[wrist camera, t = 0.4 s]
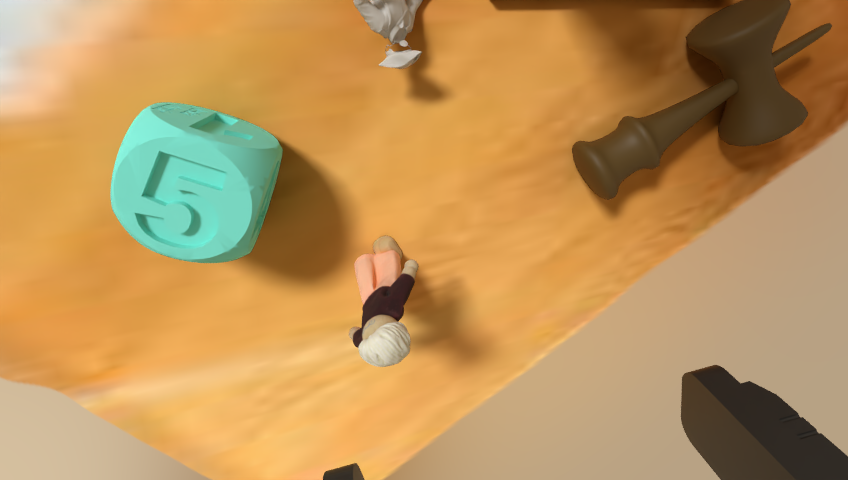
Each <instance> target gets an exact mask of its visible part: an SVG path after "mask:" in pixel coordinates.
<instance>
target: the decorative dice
mask: <svg viewBox="0 0 848 480" xmlns="http://www.w3.org/2000/svg"><path fill="white" fill-rule="evenodd" d="M282 152H283V149H282V147H281V146H280V144H279V142H278V140H277V139H276V138H275V137H274V136H273V135H272V134H270V133H269V132H267V131H265V130H264V129H262V128H260V127H258V126H256V125H254V124H251V123H249V122H247V121H244V120H242V119H239V118H236V117H234V116H231V115H228V114H224V113H221V112H218V111H214V110H210V109H206V108H202V107H198V106H193V105H187V104H180V103H156V104H153V105H151V106H149V107H147V108H145V109H144V110H143V111H142V112H141V113H140V114H139V115H138V116H137V117H136V118H135V120H134V121H133V123H132V124H131V126H130V128H129V129H128V131H127V133H126V135H125V137H124V139H123V142H122V144H121V147H120V149H119V152H118V155H117V158H116V162H115V166H114V170H113V175H112V182H111V204H112V209H113V211H114V213H115V215H116V217H117V218H118V220H119V222H120V223H121V225H122V226H123V227H124V228H125V229H126V231H127V232H128V233H129V234H130V235H131V236H132V237H133V238H134V239H135V240H137V241H138V242H139V243H140V244H141V245H143V246H145V247H146V248H148V249H150V250H152V251H154V252H156V253H159V254H161V255H164V256H167V257H171V258H174V259H179V260H184V261H189V262H198V263H221V262H228V261H232V260H236V259H238V258H241V257H243V256H245V255H247V254H249V253H250V252H251V251H252V249H253V247H254V245H255V243H256V241H257V238H258V236H259V233H260V230H261V228H262V225H263V222H264V219H265V216H266V213H267V210H268V207H269V204H270V201H271V198H272V194H273V191H274V187H275V184H276V180H277V176H278V172H279V168H280V164H281V159H282Z"/></svg>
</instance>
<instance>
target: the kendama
mask: <svg viewBox="0 0 848 480" xmlns="http://www.w3.org/2000/svg"><path fill="white" fill-rule="evenodd" d="M790 5H791V3H790V0H743V1H740V2H737V3H735V4H733V5H731V6H728V7H726V8H724V9H722V10H720V11H718V12H716V13H715V14H713V15H711V16H709V17H707V18H706V19H705V20H703V21H702V22H701V23H699V24H698V25H697V26H695V28H694V29H693V30H692V31H691V32H690V33H689V34H688V35H687V37H686V40H687V45H688V47H690V48H691V49H692V50H694V51H695V52H697V53H699V54H700V55H702V56H704V57H706V58H707V59H709V60H711V61H712V62H714V63H715V64H716V65H717V66H718V67H719V68H720V72H721V73H722V75H723V79H724V81H722V82H720V83H718V84H716V85H714V86H712V87H710V88H708V89H706V90H704V91H702V92H700V93H698V94H696V95H694V96H692V97H690V98H688V99H686V100H684V101H682V102H679V103H677V104H675V105H673V106H671V107H668V108H666V109H664V110H662V111H659V112H657V113H654V114H652V115H649V116H646V117H642V118H634V117H629V116H625V117H624V118H623V119H622V120H621V121H620V123H619V125H618V127H617V129H616V130H615V131H613V132H612V133H610V134H609V135H607V136H605V137H603V138H601V139H598V140H595V141H592V142H585V141H578V142H576V143H575V144H574V145H573V148H572V153H573V158H574V162H575V164H576V167H577V169H578V171H579V172H580V174H581V176H582V177H583V179H584V180H585V181H586V183H587V184H588V186H589V187H590V188H591V189H592V190H593V191H594V192H595V193H596V194H597V195H598V196H600V197H602V198H604V199H607V200H610V199H612V198H614V197H615V196H616V194H617V192H618V187H619V185H620V183H621V182H622V181H623V180H624V179H625V178H627V177H628V176H629V175H630V174H632V173H634V172H635V171H637V170H640V169H654V168H656V167H658V166H659V164H660V158H661V155H662V154H663V152H664V151H665V150H666V149H667V147H668V146H669V145H670V144H672V143H673V142H674V141H675V140H676V139H677V138H678V137H679V136H680V135H682V134H683V133H684V132H685V131H687V130H688V129H689V128H690V127H691V126H693V125H694V124H695V123H696V122H698V121H699V120H700V119H701V118H703V117H704V116H705V115H707V114H708V113H709V112H711V111H712V110H713V109H715V108H716V107H717V106H719V105H720V104H721V103H723V102H724V101H726V105H725V109H724V112H723V115H722V118H721V120H720V123H719V127H718V132H719V136H720V138H721V140H723V141H724V142H726V143H728V144H730V145H736V146H755V145H760V144H764V143H767V142H771V141H774V140H776V139H778V138H780V137H782V136H784V135H787V134H789V133H790V132H792V131H793V130H795V129H796V128H797V127H799V126H800V125H801V124H802V123H803V122H804V120H805V118H806V117H807V115H808V112H807V110H806V108H805V107H804V105H803V104H802V102H800V101H799V100H798V99H797V98H795V97H794V96H792V95H791V94H789V93H788V92H787V91H785V90H784V89H783V88H782V87H781V86H780V84H779V82H778V80H777V78H776V74H775V70H774V67H776V66H777V65H779V64H780V63H782V62H784V61H785V60H787V59H788V58H790V57H791V56H793V55H794V54H796V53H797V52H799V51H800V50H802V49H803V48H805V47H807V46H808V45H810V44H811V43H813V42H814V41H816V40H817V39H818V38H820V37H821V36H823V35H824V34H825V33H827V32H828V31H829V30H830V29H831V27H832V25H831V24H830V23H827V24H824V25H822V26H820V27H818V28H816V29H814V30H812V31H810V32H808V33H807V34H805V35H803V36H801V37H800V38H798V39H796V40H794V41H793V42H791V43H789V44H787V45H786V46H784V47H782V48H780V49H779V50H777V51H775V52H774V53H772V48H773V44H774V41H775V39H776V36H777V34H778V32H779V30H780V28H781V26H782V24H783V22H784V20H785V18H786V15H787V13H788V11H789V8H790Z"/></svg>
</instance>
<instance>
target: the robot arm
mask: <svg viewBox="0 0 848 480" xmlns="http://www.w3.org/2000/svg"><path fill="white" fill-rule="evenodd" d="M681 405H682V406H681V420H682V425H683V428H684V430H685V433H686V435H687V437H688V438H689V440H690V442H691V443H692V445H693V446H694V447H695V448H696V450H697V451H698V452H699V453H700V455H701V456H702V457H703V458H704V459H705V461H706V462H707V463H708V464H709V466H710V467H711V468H712V469H713V471H714V472H715V473H716V474H717V475H718V477H719V478H720V479H721V480H848V456H847V455H845V454H844V453H843V452H842V451H841V450H840V449H838V448H837V447H836V446H835V445H834V444H833V443H832V442H830V441H829V440H828V439H827V438H826V437H824V435H822V434H819V433H818V432H817V430H816V429H815V428H814V427H813V426H812V425H811V424H810V423H809V422H807V421H806V420H805V419H804V418H803V417H802V418H800V417H799V415H798V413H797V412H796V411H795V410H793V409H792V408H791V407H790V406H789V405H788V404H787V403H785V402H784V401H783V400H782V399H781V398H780V397H778V396H777V395H776V394H774V393H772V392H770V391H768V390H766V389H764V388H762V387H760V386H758V385H756V384H754V383H752V382H750V381H748V382H745V383H741V384H740V383H739V382H738V381H737V380H736V379H735V378H734V377H733V376H732V375H730V374H729V373H728V372H727V371H726V370H725V369H724V368H722V367H720V366H718V365H713V366H710V367H706V368H702V369H699V370H695V371H691V372H688V373H685V374H684V375H683V377H682V402H681ZM323 480H364V478H363V475H362V473H361V471H360V468H359V466H358V465H357V464H356V463H354V464H351V465H347V466H343V467H340V468H336V469H333V470H329V471H326V472H325V473H324V476H323Z"/></svg>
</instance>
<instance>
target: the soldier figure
mask: <svg viewBox="0 0 848 480" xmlns="http://www.w3.org/2000/svg"><path fill="white" fill-rule="evenodd" d="M422 1H423V0H406V2H405V0H370V1H369V0H354V5H355V7H356V8H357V9H358V11H359V12H360V13H361V15H362V16H363V17H364V19H365V21H366V22H367V23H368V25H369V26H370V28H371V30H373V31H374V32H376V33H379V34H381V35H382V36H383V37H384V38H385V39H386V38H388V39H389V40H390V41H391V43H392V45H393V44H395V43H400V45H401V46H404V47H406V46H407V45H408V43H407V41H405V40H404V39H405V37H406V35H407V34H408V33H409V32H411V31H412V28H413V24H414V19H415V13H416V10H417V9H418V7H419V6H420V4H421V2H422ZM389 46H390V45H389ZM408 46H409V45H408ZM386 48H387V46H386ZM421 53H422V52H421V51H416V50H412V51H411V49H410V50H406V51H396V52H393V51H392V49H389V51H388V52H387V51H386V55H387V57H386V59H385V60H384V61H383V62H381V63H380V64H379V66H385V67H391V68H398V69H404V68H407V67H408V66H410V65H412V64H414V63H415V62H416V61H417V60H418V59H419V57H420V55H421Z"/></svg>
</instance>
